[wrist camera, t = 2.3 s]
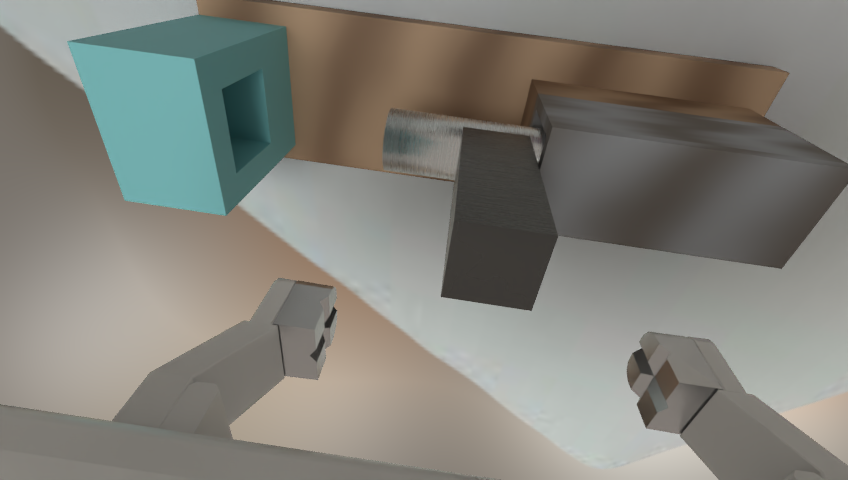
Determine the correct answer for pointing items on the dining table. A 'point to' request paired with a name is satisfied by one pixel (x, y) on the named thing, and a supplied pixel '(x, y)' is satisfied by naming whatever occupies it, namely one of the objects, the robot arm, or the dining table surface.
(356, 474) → the robot arm
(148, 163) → the socket block
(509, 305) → the grey l-shaped piece
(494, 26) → the dining table surface
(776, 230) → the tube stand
